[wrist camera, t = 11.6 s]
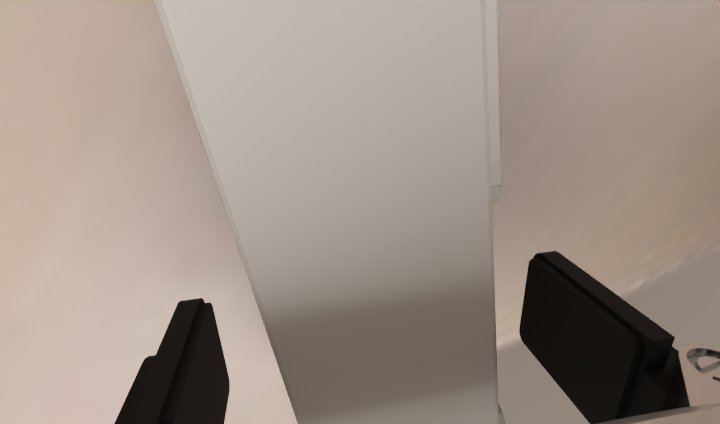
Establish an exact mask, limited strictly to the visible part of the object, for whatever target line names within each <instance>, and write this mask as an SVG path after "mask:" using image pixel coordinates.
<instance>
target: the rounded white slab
mask: <svg viewBox="0 0 720 424" xmlns="http://www.w3.org/2000/svg"><path fill="white" fill-rule="evenodd" d="M154 1H155V4H156V7H157V10H158V13H159V16H160V19H161V22H162V25H163V28H164V31H165V34H166V37H167V40H168V43H169V45H170V48H171V51H172V54H173V57H174V60H175V63H176V66H177V69H178V72H179V75H180V78H181V81H182V84H183V87H184V90H185V93H186V96H187V98H188V101H189V104H190V107H191V110H192V113H193V116H194V119H195V122H196V125H197V128H198V131H199V134H200V137H201V140H202V143H203V146H204V149H205V151H206V154H207V157H208V160H209V163H210V166H211V169H212V172H213V175H214V178H215V181H216V184H217V187H218V190H219V193H220V196H221V199H222V201H223V204H224V207H225V210H226V213H227V216H228V219H229V222H230V225H231V228H232V231H233V234H234V237H235V240H236V243H237V246H238V249H239V252H240V254H241V257H242V260H243V263H244V266H245V269H246V272H247V275H248V278H249V281H250V284H251V287H252V290H253V293H254V296H255V299H256V302H257V304H258V307H259V310H260V313H261V316H262V319H263V322H264V325H265V328H266V331H267V334H268V337H269V340H270V343H271V346H272V349H273V352H274V355H275V357H276V360H277V363H278V366H279V369H280V372H281V375H282V378H283V381H284V384H285V387H286V390H287V393H288V396H289V399H290V402H291V405H292V408H293V410H294V413H295V416H296V419H297V422H298V424H505V420H504V416H503V412H502V410H501V408H500V406H499V403H498V383H497V352H496V322H495V292H494V262H493V232H492V202H494V201H496V200H498V196H499V192H500V188H501V160H500V114H499V68H498V22H497V0H154Z"/></svg>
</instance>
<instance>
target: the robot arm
mask: <svg viewBox="0 0 720 424" xmlns="http://www.w3.org/2000/svg"><path fill="white" fill-rule="evenodd" d="M520 336H521V339H522V341H523V343H524V344H525V345H526V346H527V347H528V349H529V350H530V351H531V352H532V354H533V355H534V356H535V357H536V358H537V360H538V361H539V362H540V363H541V364H542V366H543V367H544V368H545V369H546V370H547V372H548V373H549V374H550V375H551V376H552V378H553V379H554V380H555V381H556V383H557V384H558V385H559V386H560V388H561V389H562V390H563V391H564V392H565V394H566V395H567V396H568V397H569V399H570V400H571V401H572V402H573V403H574V405H576V407H577V408H578V409H579V411H580V412H581V413H582V414H583V415H584V417H585V418H586V419H587V420H588V422H589V423H590V424H720V348H716V347H713V346H709V345H704V344H688V345H684V346H682V347H681V348H680V349H679V351H677V350H676V349H674V348H673V347H672V344H673V341H674V336H672V335H671V334H669V333H668V332H667V331H665V330H664V329H662V328H661V327H660V326H658V325H657V324H656V323H654V322H653V321H652V320H650V319H649V318H648V317H646V316H645V315H643V314H642V313H640V312H639V311H638V310H637V309H635V308H634V307H632V306H631V305H630V304H628V303H627V302H626V301H624V300H623V299H622V298H620V297H619V296H617V295H616V294H615V293H613V292H612V291H611V290H609V289H608V288H606V287H605V286H604V285H602V284H601V283H600V282H598V281H597V280H595V279H594V278H593V277H591V276H590V275H589V274H587V273H586V272H585V271H583V270H582V269H580V268H579V267H578V266H576V265H575V264H574V263H572V262H571V261H569V260H568V259H567V258H565V257H564V256H563V255H561V254H560V253H558V252H556V251H552V252H545V253H537V254H536V255H535V256H534V258H533V259H531V260H530V262H529V267H528V274H527V281H526V288H525V295H524V302H523V309H522V316H521V323H520ZM228 395H229V377H228V372H227V368H226V364H225V359H224V355H223V351H222V346H221V342H220V338H219V333H218V329H217V325H216V320H215V316H214V311H213V307H212V304H211V303H204V300H203V299H202V298H201V299H193V300H186V301H180V302H179V303H178V305H177V307H176V310H175V312H174V314H173V317H172V319H171V321H170V324H169V326H168V328H167V331H166V333H165V335H164V338H163V340H162V342H161V345H160V347H159V349H158V352H157V354H156V355H155V356H148V357H147V358H146V359H145V360H144V362H143V363H142V365H141V367H140V370H139V372H138V374H137V376H136V378H135V380H134V383H133V385H132V387H131V389H130V391H129V393H128V396H127V398H126V400H125V402H124V404H123V407H122V409H121V411H120V413H119V415H118V417H117V420H116V422H115V424H224V419H225V413H226V407H227V401H228Z"/></svg>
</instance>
